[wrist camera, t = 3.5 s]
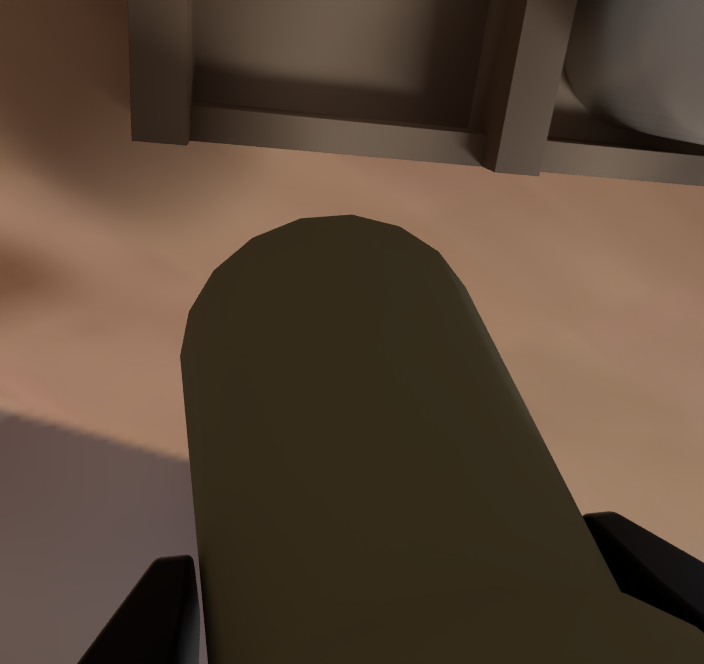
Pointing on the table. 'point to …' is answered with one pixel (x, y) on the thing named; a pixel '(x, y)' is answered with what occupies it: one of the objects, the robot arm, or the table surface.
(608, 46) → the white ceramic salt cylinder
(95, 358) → the table surface
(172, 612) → the robot arm
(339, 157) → the table surface
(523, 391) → the table surface
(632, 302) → the table surface
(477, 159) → the walnut slot rack
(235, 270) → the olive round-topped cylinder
